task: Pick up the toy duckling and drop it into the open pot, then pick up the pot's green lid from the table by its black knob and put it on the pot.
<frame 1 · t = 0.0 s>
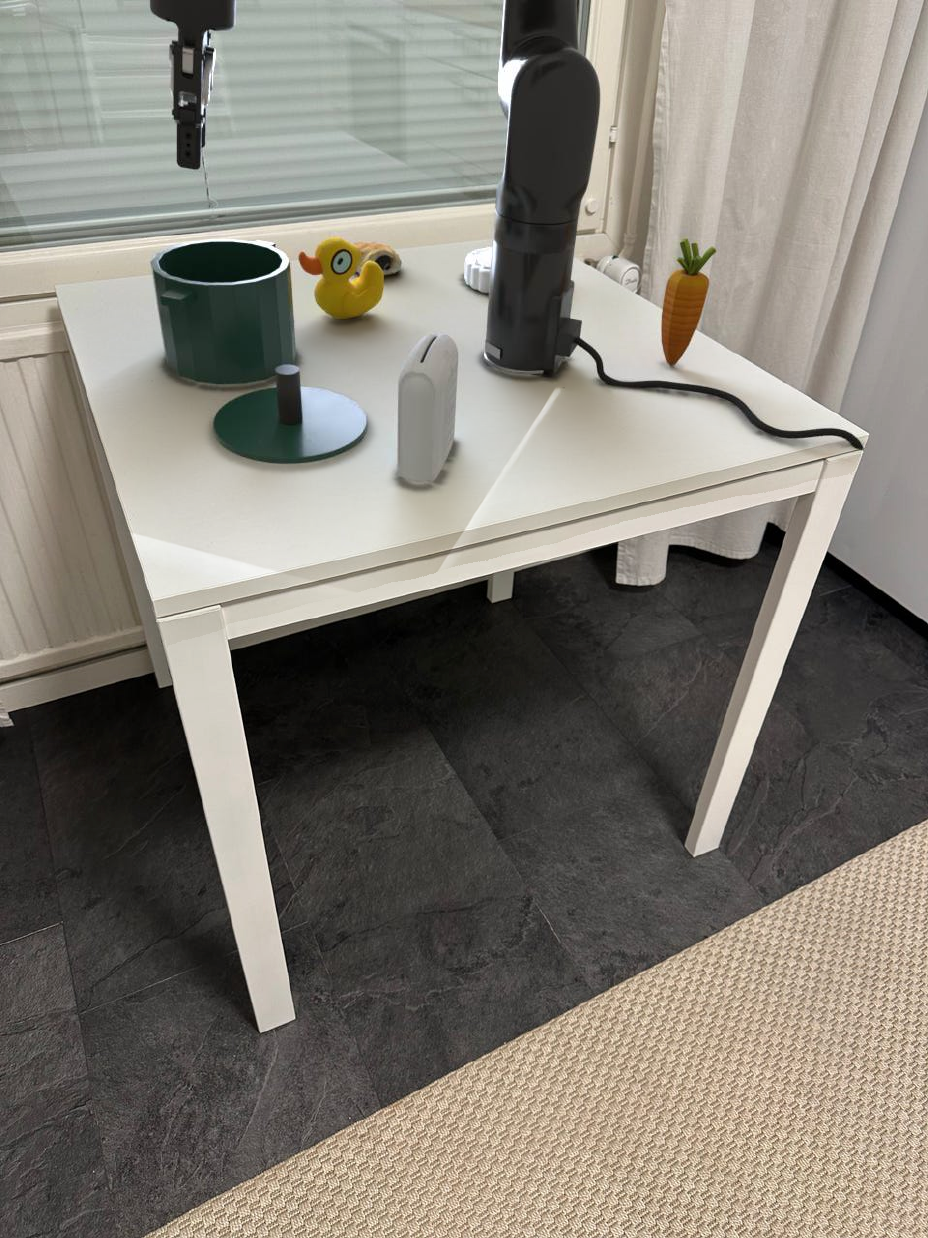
hand: (191, 156, 92), 22 cm above the table, tool pointing down, fingers open, 8 cm apart
carrot: (670, 367, 113), on the table
duckling: (345, 318, 120), on the table
photo printer: (426, 462, 92), on the table
lid: (291, 424, 95), point 1 cm above the table
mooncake: (505, 283, 132), on the table
pot: (232, 360, 108), on the table
pastry: (372, 270, 134), on the table
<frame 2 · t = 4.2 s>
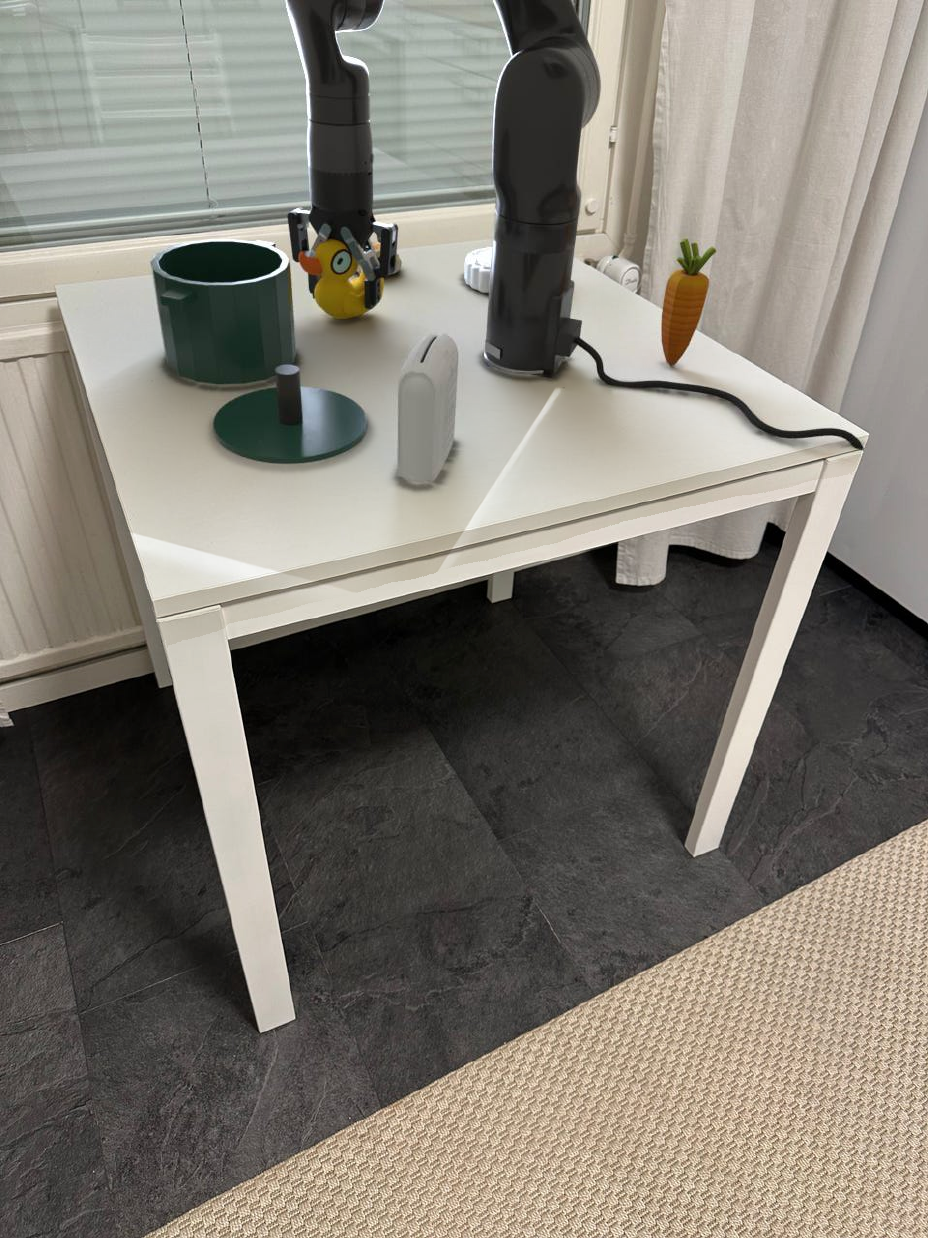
hand: (345, 301, 118), 2 cm above the table, tool pointing down, fingers closed on duckling, 6 cm apart
duckling: (344, 318, 120), on the table, touching gripper
everything else where it was.
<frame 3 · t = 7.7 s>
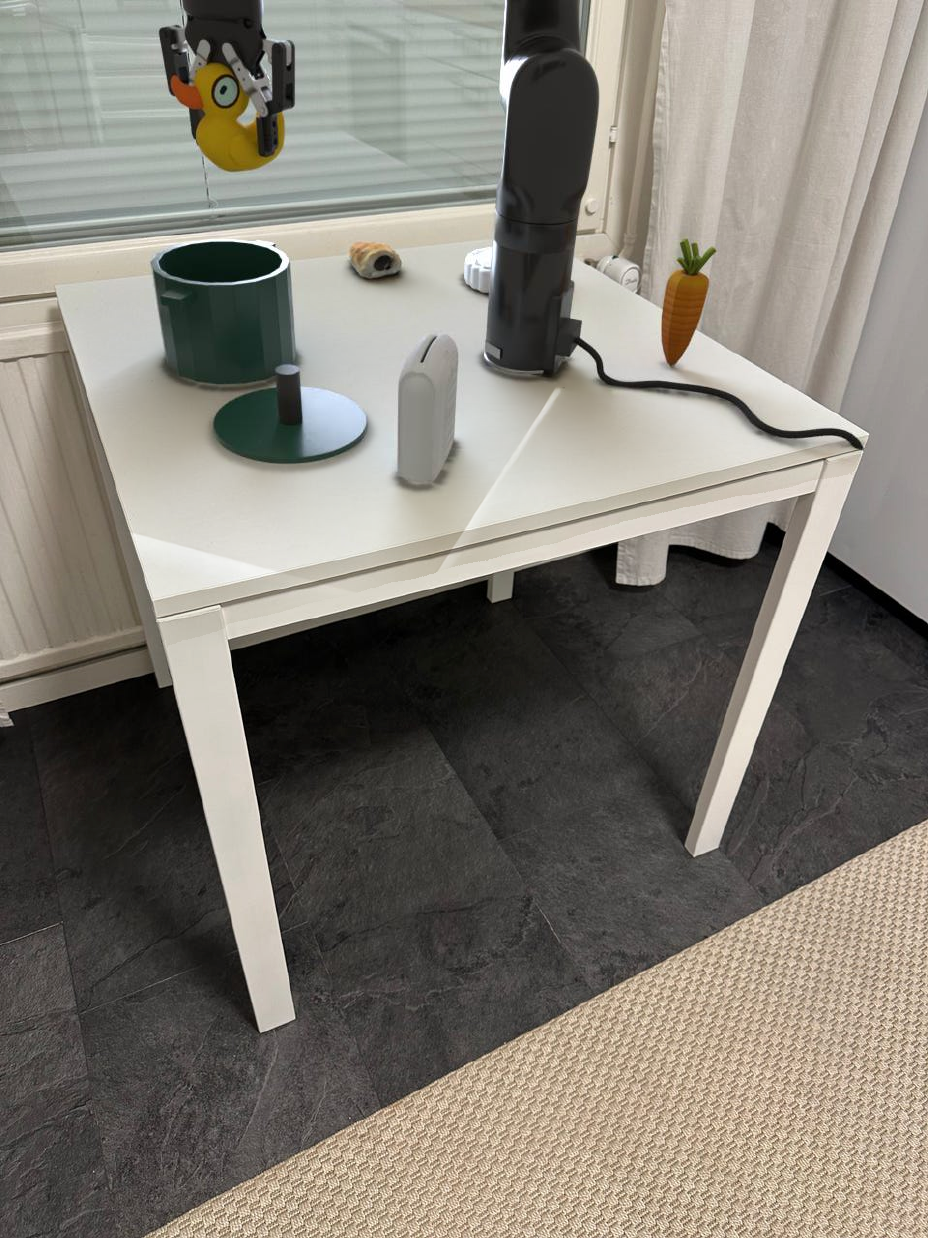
hand: (236, 149, 96), 22 cm above the table, tool pointing down, fingers closed on duckling, 6 cm apart
duckling: (237, 172, 98), point 20 cm above the table, touching gripper
everything else where it was.
when the fingers open (12 cm above the table, at t = 11.2 s): duckling drops 10 cm, resting on pot.
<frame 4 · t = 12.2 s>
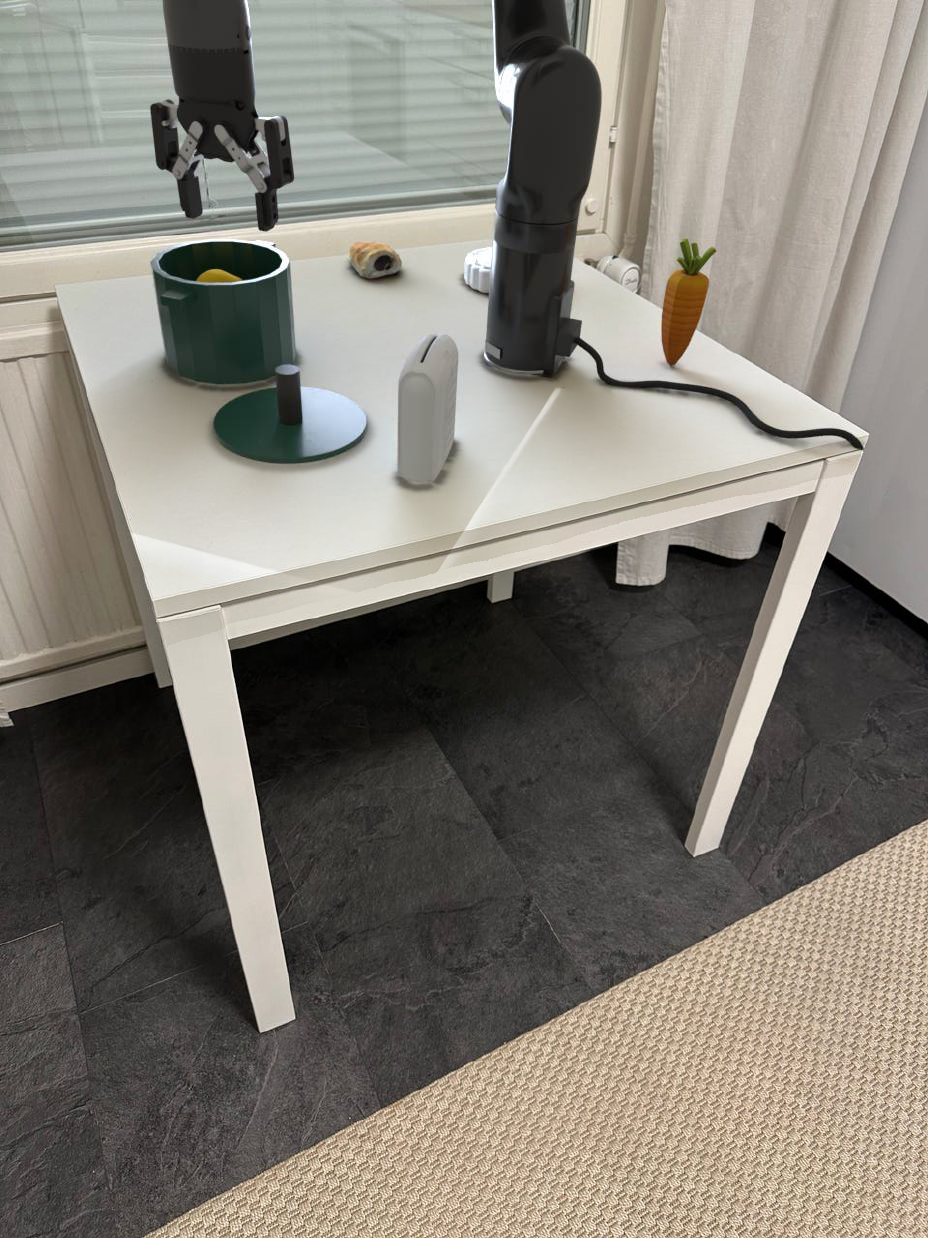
hand: (230, 222, 94), 17 cm above the table, tool pointing down, fingers open, 8 cm apart
duckling: (233, 357, 108), resting on pot
everything else where it was.
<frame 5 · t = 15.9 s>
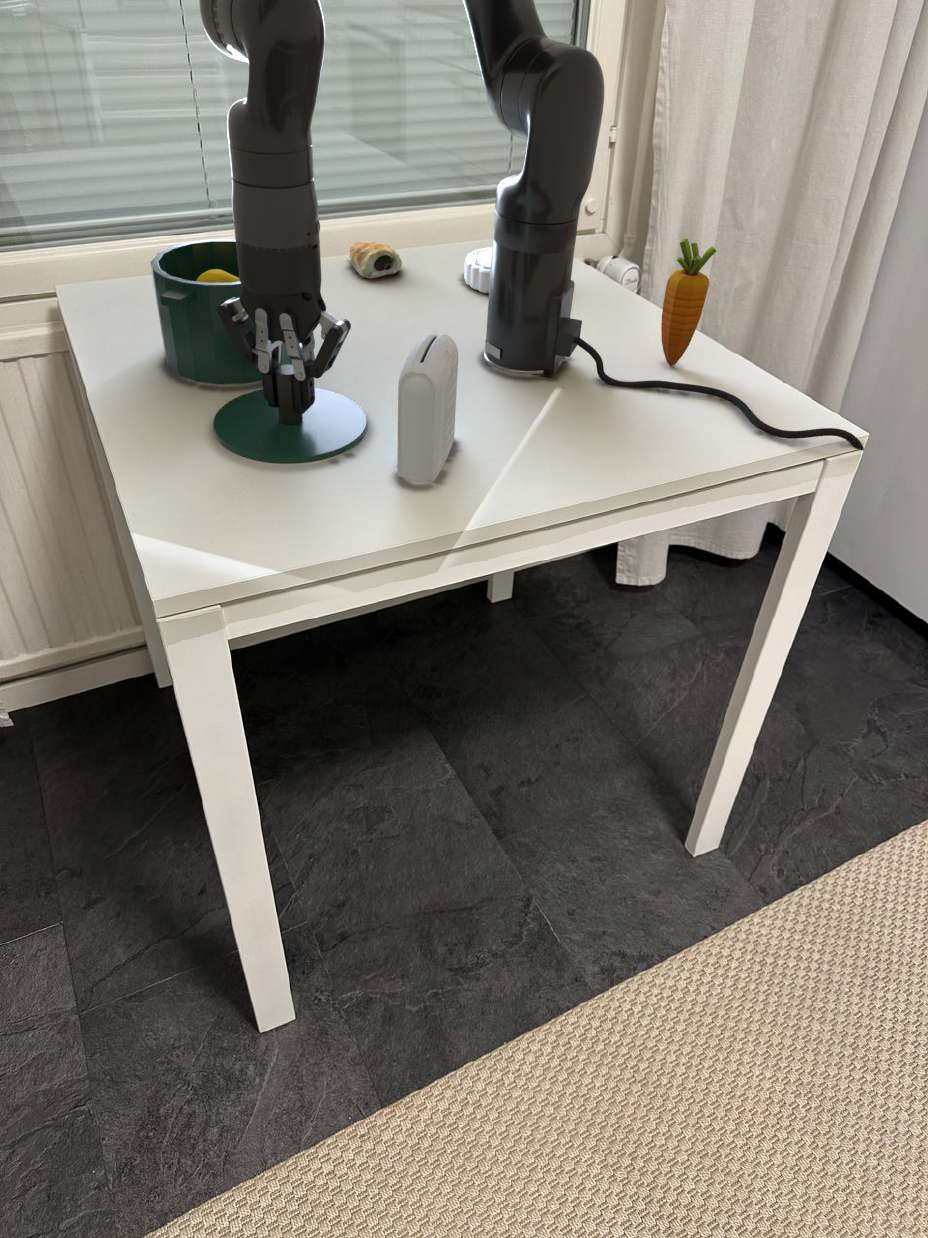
hand: (290, 406, 94), 3 cm above the table, tool pointing down, fingers closed on lid, 2 cm apart
lid: (291, 424, 95), point 1 cm above the table, touching gripper
everything else where it was.
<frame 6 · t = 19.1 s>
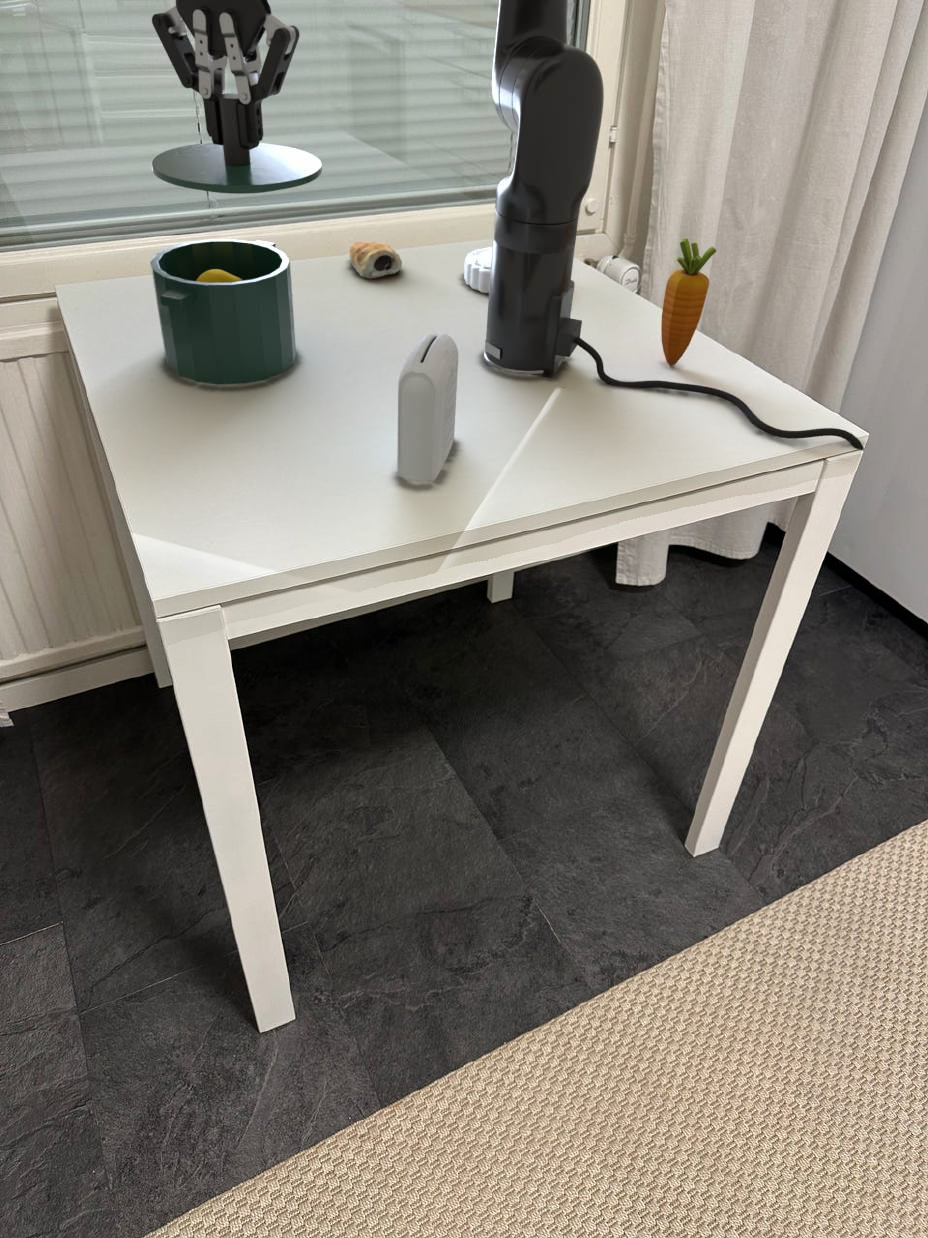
hand: (236, 144, 85), 25 cm above the table, tool pointing down, fingers closed on lid, 2 cm apart
lid: (238, 168, 87), point 23 cm above the table, touching gripper
everything else where it was.
when the fingers open (14 cm above the table, at t = 22.8 s): lid stays where it is, resting on pot.
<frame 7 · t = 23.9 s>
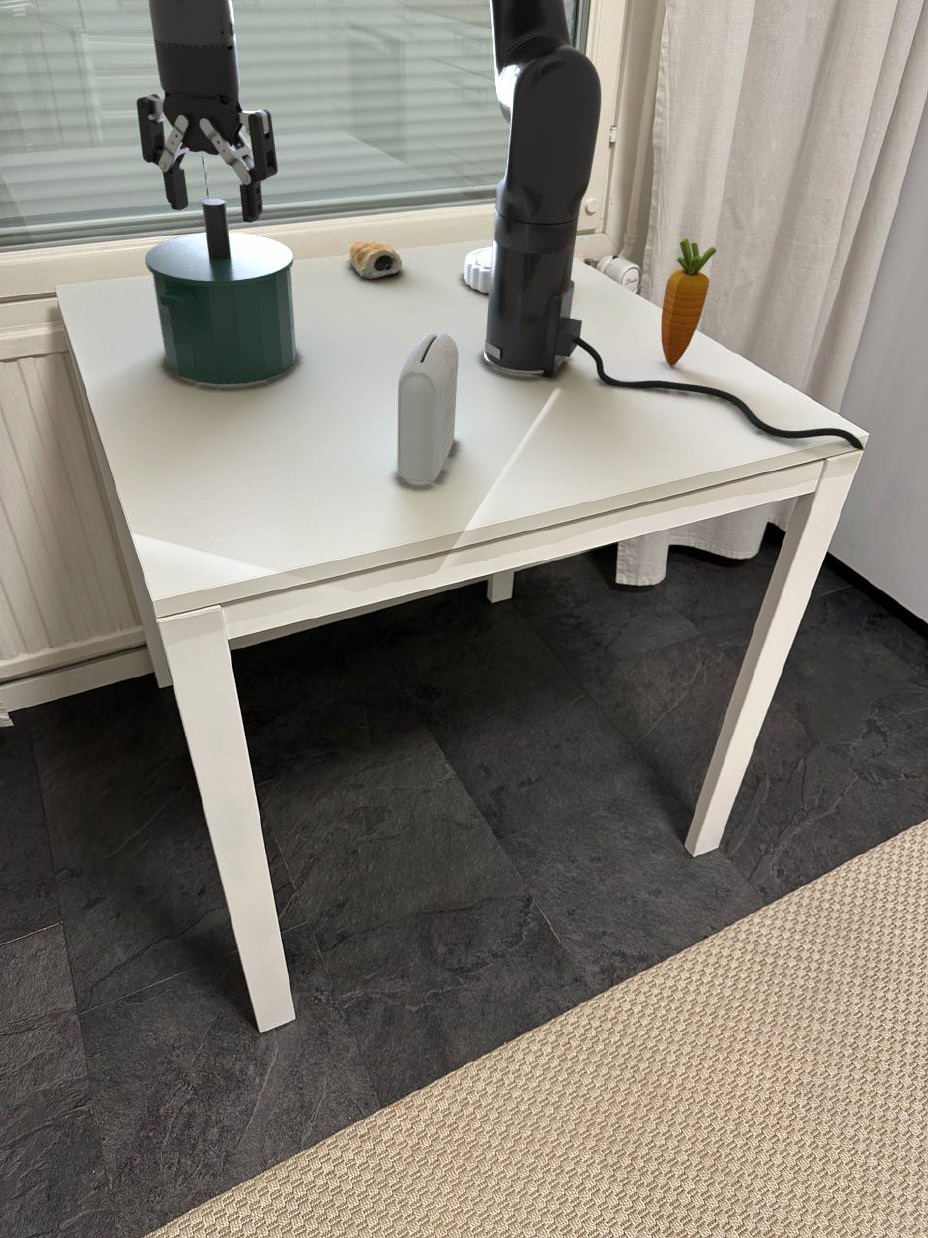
hand: (215, 214, 97), 16 cm above the table, tool pointing down, fingers open, 8 cm apart
lid: (220, 260, 100), point 11 cm above the table, touching pot
everything else where it was.
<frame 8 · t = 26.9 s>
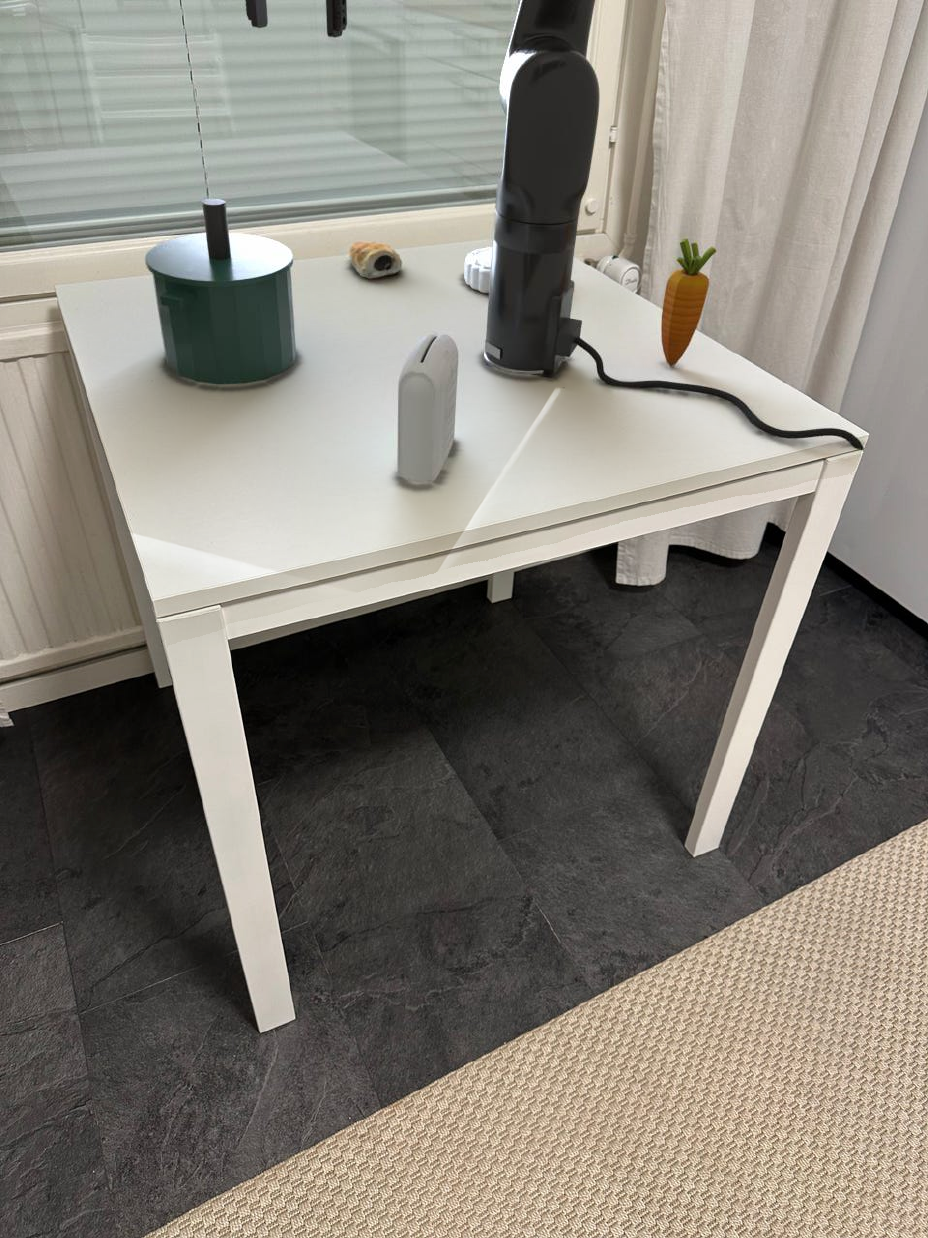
hand: (297, 31, 94), 32 cm above the table, tool pointing down, fingers open, 8 cm apart
nothing on the table moved.
at the end: duckling inside the target area in the pot (0.3 cm from its centre), point 0.3 cm above the pot's base; lid 0.1 cm off-centre on the pot, point 11.5 cm above the pot's base; lid tilted 0° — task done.
